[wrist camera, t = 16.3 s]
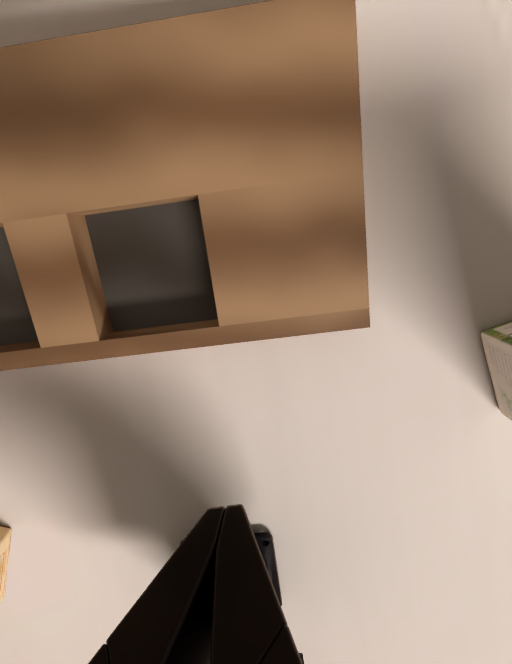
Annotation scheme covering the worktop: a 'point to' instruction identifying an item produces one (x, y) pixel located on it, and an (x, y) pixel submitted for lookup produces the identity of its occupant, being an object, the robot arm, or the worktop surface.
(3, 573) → the coffeecake box
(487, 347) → the syrup box
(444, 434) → the worktop surface
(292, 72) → the board
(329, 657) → the worktop surface
